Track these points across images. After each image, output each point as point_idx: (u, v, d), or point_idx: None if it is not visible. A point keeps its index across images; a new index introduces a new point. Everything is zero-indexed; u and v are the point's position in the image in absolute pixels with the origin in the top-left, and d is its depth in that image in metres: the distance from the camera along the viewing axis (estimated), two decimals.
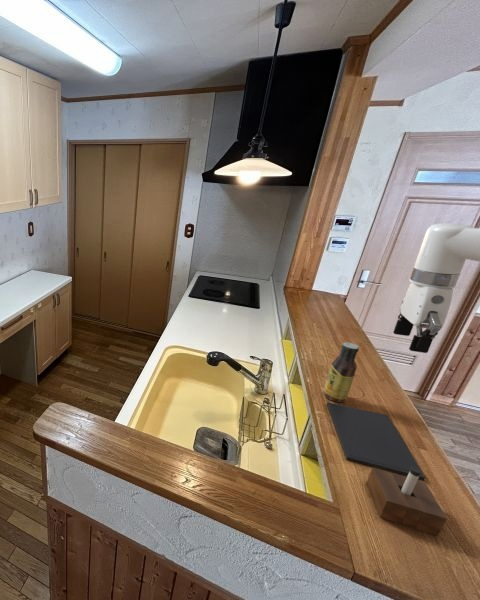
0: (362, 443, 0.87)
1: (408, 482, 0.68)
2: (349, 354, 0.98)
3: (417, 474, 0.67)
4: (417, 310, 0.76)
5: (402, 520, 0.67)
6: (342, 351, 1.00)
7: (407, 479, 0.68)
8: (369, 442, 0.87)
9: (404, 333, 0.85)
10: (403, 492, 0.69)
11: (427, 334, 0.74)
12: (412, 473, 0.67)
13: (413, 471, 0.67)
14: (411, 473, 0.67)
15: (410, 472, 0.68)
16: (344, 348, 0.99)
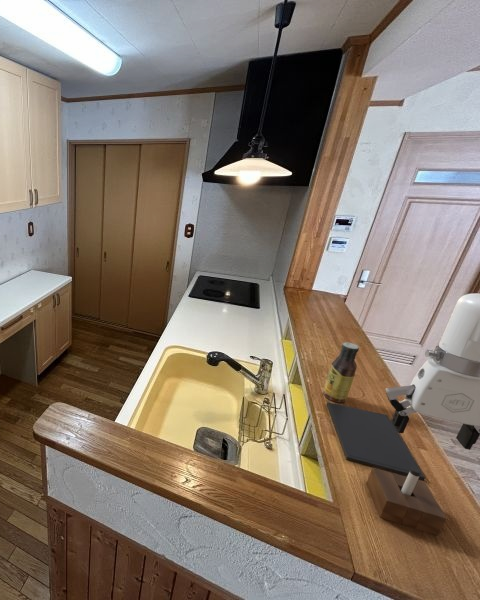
0: (362, 443, 0.87)
1: (408, 482, 0.68)
2: (349, 354, 0.98)
3: (417, 474, 0.67)
4: None
5: (402, 520, 0.67)
6: (342, 351, 1.00)
7: (407, 479, 0.68)
8: (369, 442, 0.87)
9: (462, 442, 0.62)
10: (403, 492, 0.69)
11: None
12: (412, 473, 0.67)
13: (413, 471, 0.67)
14: (411, 473, 0.67)
15: (410, 472, 0.67)
16: (344, 348, 0.99)
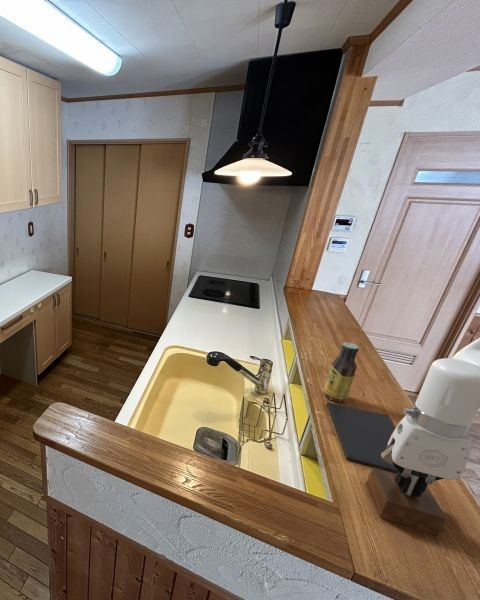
0: (362, 443, 0.87)
1: None
2: (349, 354, 0.98)
3: (417, 474, 0.66)
4: None
5: (402, 520, 0.67)
6: (342, 351, 1.00)
7: None
8: (369, 442, 0.87)
9: (413, 490, 0.68)
10: None
11: None
12: (412, 473, 0.67)
13: (413, 471, 0.67)
14: (411, 473, 0.67)
15: None
16: (344, 348, 0.99)
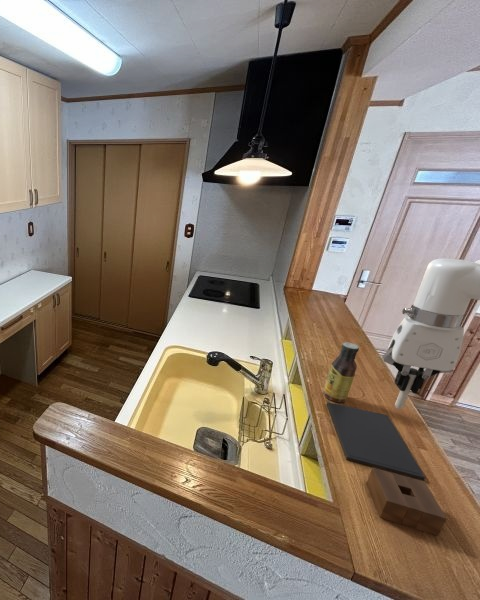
0: (362, 443, 0.87)
1: None
2: (349, 354, 0.98)
3: (414, 373, 0.73)
4: None
5: (402, 520, 0.67)
6: (342, 351, 1.00)
7: None
8: (369, 442, 0.87)
9: (411, 388, 0.75)
10: (401, 392, 0.76)
11: None
12: (410, 373, 0.74)
13: (411, 370, 0.73)
14: (409, 373, 0.74)
15: None
16: (344, 348, 0.99)
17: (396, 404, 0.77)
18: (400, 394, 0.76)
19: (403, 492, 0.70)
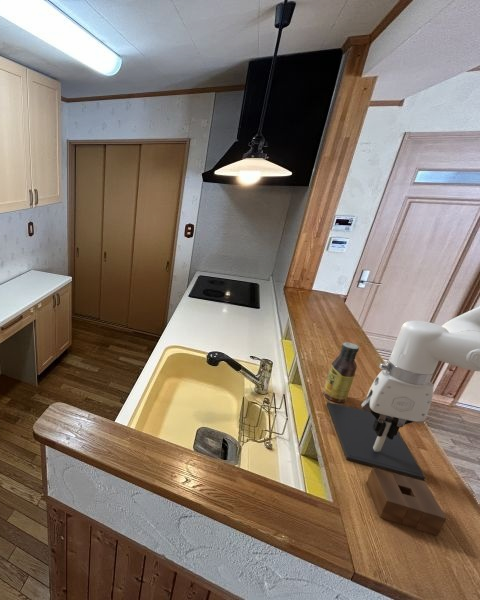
0: (362, 443, 0.87)
1: None
2: (349, 354, 0.98)
3: (390, 421, 0.80)
4: None
5: (402, 520, 0.67)
6: (342, 351, 1.00)
7: None
8: (369, 442, 0.87)
9: (387, 434, 0.81)
10: (379, 437, 0.82)
11: (372, 412, 0.82)
12: (386, 420, 0.80)
13: (387, 418, 0.80)
14: (385, 420, 0.80)
15: None
16: (344, 348, 0.99)
17: (374, 447, 0.84)
18: (377, 439, 0.82)
19: (403, 492, 0.70)
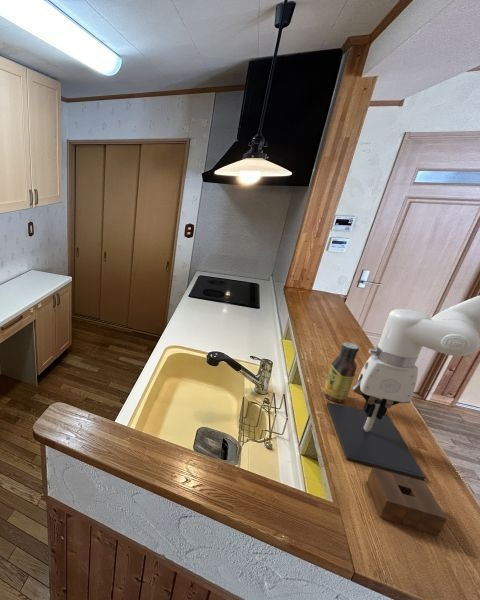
0: (362, 443, 0.87)
1: None
2: (349, 354, 0.98)
3: (379, 402, 0.86)
4: None
5: (402, 520, 0.67)
6: (342, 351, 1.00)
7: None
8: (369, 442, 0.87)
9: None
10: (369, 418, 0.89)
11: None
12: (375, 402, 0.87)
13: (376, 400, 0.87)
14: (374, 402, 0.87)
15: (374, 401, 0.87)
16: (344, 348, 0.99)
17: (364, 427, 0.90)
18: (368, 419, 0.89)
19: (403, 492, 0.70)
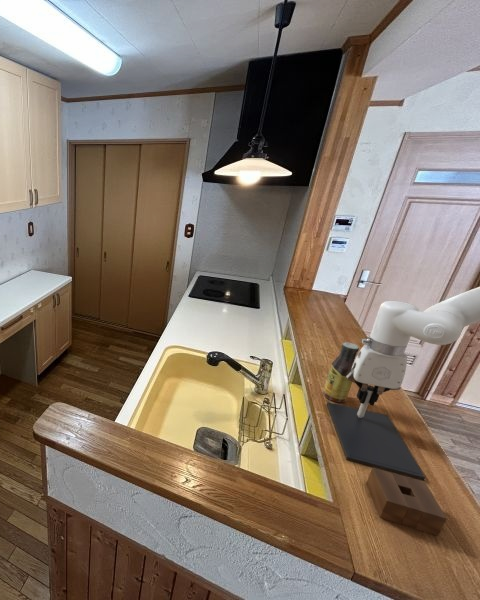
0: (362, 443, 0.87)
1: None
2: (349, 354, 0.98)
3: (371, 389, 0.91)
4: None
5: (402, 520, 0.67)
6: (342, 351, 1.00)
7: None
8: (369, 442, 0.87)
9: (369, 401, 0.93)
10: (362, 404, 0.94)
11: (356, 382, 0.94)
12: (368, 389, 0.92)
13: (368, 387, 0.92)
14: (367, 389, 0.92)
15: None
16: (344, 348, 0.99)
17: (358, 414, 0.95)
18: (361, 406, 0.94)
19: (403, 492, 0.70)
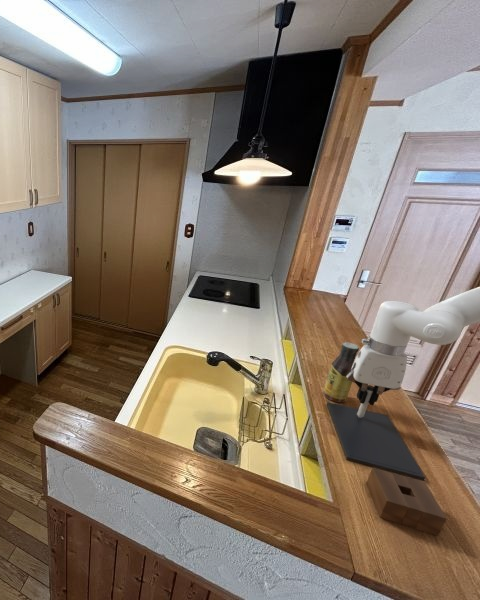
0: (362, 443, 0.87)
1: None
2: (349, 354, 0.98)
3: (371, 389, 0.91)
4: None
5: (402, 520, 0.67)
6: (342, 351, 1.00)
7: None
8: (369, 442, 0.87)
9: (369, 401, 0.93)
10: (362, 404, 0.94)
11: (356, 382, 0.94)
12: (368, 389, 0.92)
13: (368, 387, 0.92)
14: (367, 389, 0.92)
15: None
16: (344, 348, 0.99)
17: (358, 414, 0.95)
18: (361, 406, 0.94)
19: (403, 492, 0.70)
